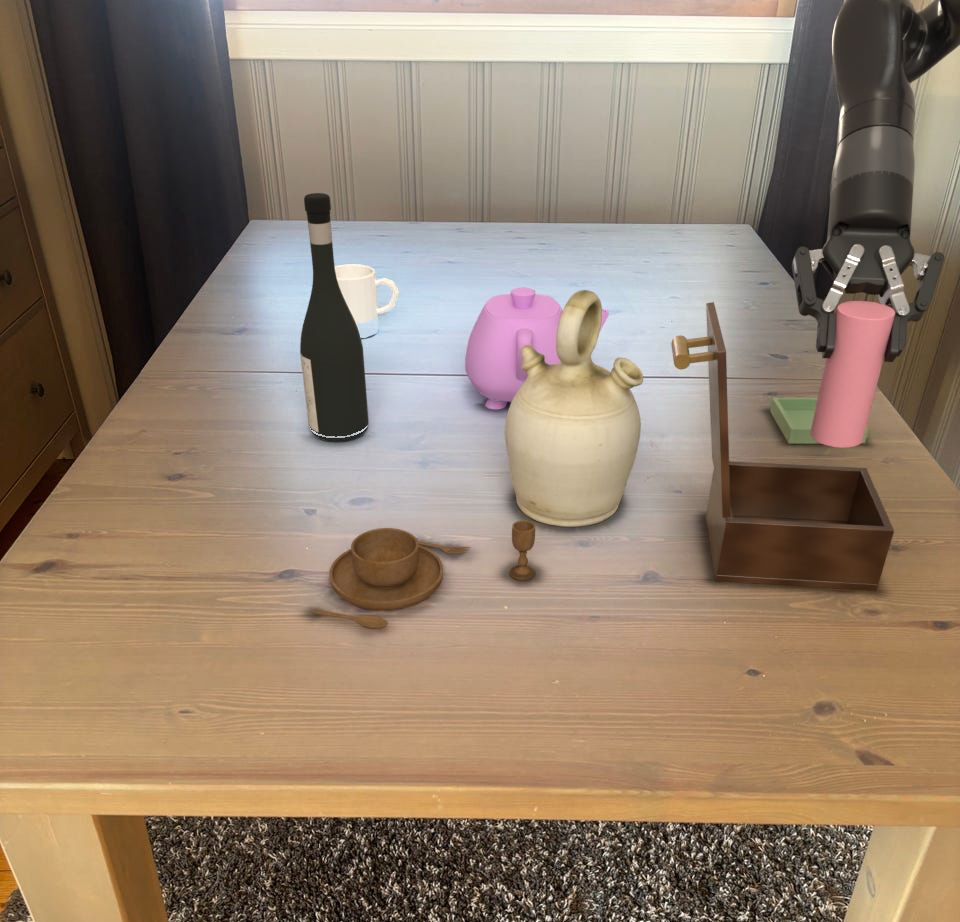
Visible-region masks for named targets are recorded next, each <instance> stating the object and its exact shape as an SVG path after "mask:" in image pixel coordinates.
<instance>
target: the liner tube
mask: <svg viewBox="0 0 960 922" xmlns="http://www.w3.org/2000/svg"><path fill="white" fill-rule="evenodd" d="M835 313H836V332H835V346H834V351H833V354H832V355H831V357H830V359H828V358H825V363H824V366H823V367H824V368H823V372H822V376H821V381H820V385H819V391H818V395H817V398H818V399H817V404H816V408H815V413H814V418H813V422H812V427H811V432H810V435H811V437H812V438H813V439H814V440H815V441H817V442H819V443H821V444H822V445H823V446H827V447H832V448H841V449H842V448H843V449H844V448H845V449H847V448H854V447H857V446H860V445H861V444H863V443H862V441H863V439H864V435H865V431H866V427H868V423H869V419H870V414H871V410H872V405H873V402H874V399H875V395H876V391H877V387H878V383H879V380H880V375H881V371H882V366H883V363H884V358H885V352H886V348H887V344H888V340H889V336H890V332H891V328H892V324H893V320H894V316H895V311H894V310H893V309H892V308H890V307H888V306H886V305H883V304H880V302H877V301H869V300H868V301H867V300H849V301H844V302H842V303H840V304H837V306H836V311H835Z"/></svg>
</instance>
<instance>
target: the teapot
mask: <svg viewBox="0 0 960 922" xmlns="http://www.w3.org/2000/svg"><path fill="white" fill-rule="evenodd" d="M562 311H563V307H562V306H561V304H560V303H559V302H558V301H557V300H556V299H555V298H553V297H551V296H550V295H546V294H539V293H536V290H535V289H532V288H530V287H516V288H512V289H511V290H510V293H506V294H505V293H503V294H498V295H495V296H492V297H490V298H489V299H488V300H487V301H486V302H485V304H484V306H483V307H482V309H481V311H480V313H479V315H478V316H477V319H476V321H475V323H474V325H473V327H472V330H471V332H470V335H469V338H468V341H467V346H466V351H465V358H464V359H465V360H464V369H465V373H466V376H467V378H468V380H469V381H470V382H471V384H472V385H473V387H474V388H475V389H476V391H477V392H478V393H479V394H481V395H482V396H483V397H485V398H487V400H486V402H485V404H484V406H485V407H486V408H487V409H490V410H501V409H505V408H506V407H507V404H508V402H510V403H511V402H512V400H513V398H514V396H515V395H516V393H517V391H518V390H519V388H520V387H521V385H522V384H523V383H524V382H525V380H526V379H527V372H526V371H524V370H522V368H521V366H522V364H523V359H522V354H521V350H522V348H523V347H524V346H525V345H530V346H531V347H533V348H534V349H535V350H536V351H537V352H538V353H541V354H543V355H544V356H545V362H546V363H547V364H549V365H552V364H560V363H561V361H560V359H559V358H558V355H557V351H556V337H557V329H558V325H559V321H560V317H561V314H562ZM609 314H610V313H609V309H603V308H602V322H601V328H600V332H601V331H602V329H603V327H604V324H605V323H606V321H607V319H608V317H609ZM489 398H490V399H489ZM491 399H493V400H499V401H493V400H491Z"/></svg>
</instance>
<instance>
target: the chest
mask: <svg viewBox="0 0 960 922" xmlns="http://www.w3.org/2000/svg"><path fill="white" fill-rule="evenodd" d="M729 475H730V512H731V517H726V518H723V517H722V511H721V506H720V500H719V494H718V489H717V483H716V477H715V471H714V469H713V471H712V476H711V483H710V489H709V494H708V495H709V496H708V502H707V508H706V515H705V519H706V525H707V533H708V539H709V540H708V541H709V546H710V554H711V558H712V559H711V561H712V567H713V573H714V580H715V582H721V583H722V582H723V583H724V582H725V583H738V584H739V583H742V584H755V585H756V584H758V585H774V586H775V585H776V586H793V587H809V588H824V589H826V588H827V589H843V590H860V591H877V590H878V587H879V584H880V581H881V577H882V573H883V571H884V566H885V565H886V560H887V557H888V554H889V550H890V547H891V543H892V540H893V537H894V534H895V529H894V527H893V525H892V522H891V521H890V518H889V516H888V513H887V511H886V509H885V507H884V504H883V502H882V500H881V498H880V495H879V493H878V491H877V489H876V487H875V485H874V482H873V479H872V477H871V475H870V473H869V469H868V468H866V467H857V466H856V467H853V466H834V465H813V464H795V463H794V464H790V463H774V462H773V463H772V462H771V463H769V462H751V461H730V460H729Z"/></svg>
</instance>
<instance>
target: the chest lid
mask: <svg viewBox="0 0 960 922" xmlns="http://www.w3.org/2000/svg"><path fill="white" fill-rule="evenodd" d="M705 310H706V311H705V314H706V336H703V337H702V336H701V337H695V338H686V336H684V335H682V334H681V335H675V336H674V337H673V338H672V340H671V343H670V345H671V352H672V360H673V366H674V367H675V368H676V369H677V370H686V369H687V368H688V367H689V366H690V365H691V364H695V363H703V362H704V363H705V362H707V365H708V389H709V390H708V391H709V393H708V394H709V419H710V438H711V439H710V442H711V459H712V466H713V470H714V471H715V477H716V483H717V489H718V494H719V500H720V506H721V511H722V517H723V518H726V517H731V512H730V475H729V461H730V442H729V441H730V440H729V409H728V407H729V405H728V404H729V403H728V369H727V368H728V367H727V349H726V346H725V341H724V337H723V333H722V329H721V324H720V322H719V317H718V313H717V312H718V311H717V309H716V304H715V301H712V302H711V301H710V302H706V303H705ZM700 347H707V351H706V352H705V351H704V352H696V353H691V352H690V349H692V348H700Z"/></svg>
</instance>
